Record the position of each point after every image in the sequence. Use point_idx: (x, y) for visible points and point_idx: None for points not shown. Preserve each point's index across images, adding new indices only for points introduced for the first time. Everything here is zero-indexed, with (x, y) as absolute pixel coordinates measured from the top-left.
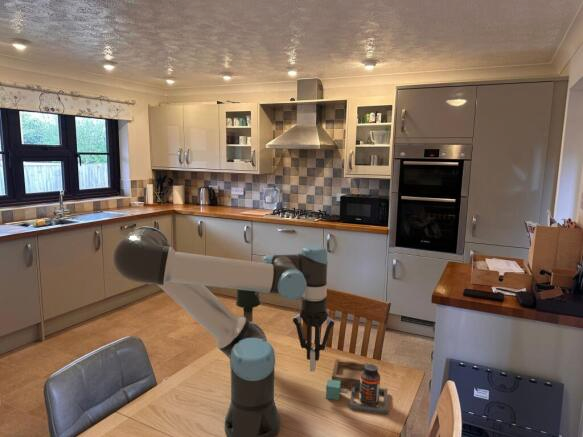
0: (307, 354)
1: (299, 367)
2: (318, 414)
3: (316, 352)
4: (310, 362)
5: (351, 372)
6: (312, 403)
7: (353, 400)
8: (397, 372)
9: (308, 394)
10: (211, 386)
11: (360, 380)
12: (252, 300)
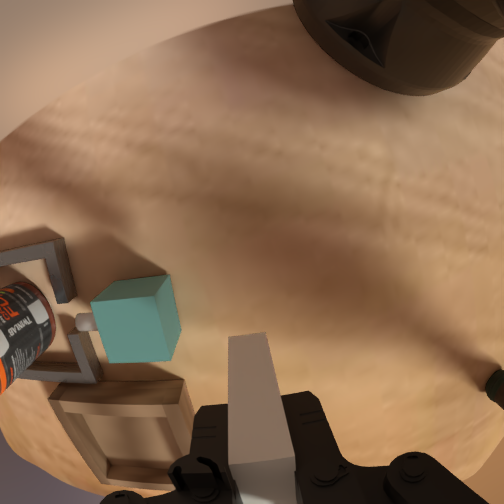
0: (320, 426)
1: (342, 428)
2: (168, 145)
3: (196, 456)
4: (270, 372)
5: (140, 450)
6: (218, 214)
7: (50, 276)
8: (47, 460)
9: (258, 277)
10: None
11: (2, 344)
12: None
